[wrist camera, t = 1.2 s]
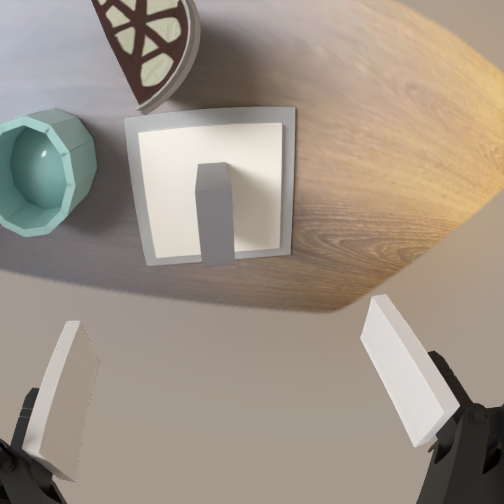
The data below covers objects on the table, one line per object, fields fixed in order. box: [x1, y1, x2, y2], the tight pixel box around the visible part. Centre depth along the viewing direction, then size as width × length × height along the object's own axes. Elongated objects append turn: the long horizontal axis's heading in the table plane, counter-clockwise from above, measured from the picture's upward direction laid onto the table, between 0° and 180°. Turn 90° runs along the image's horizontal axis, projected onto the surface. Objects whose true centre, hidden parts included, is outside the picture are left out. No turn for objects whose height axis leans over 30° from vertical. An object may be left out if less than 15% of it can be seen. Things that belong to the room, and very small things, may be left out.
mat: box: [124, 106, 295, 266], centre depth 30 cm, size 16×16×1 cm
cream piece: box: [138, 122, 282, 267], centre depth 26 cm, size 13×13×9 cm
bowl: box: [0, 108, 97, 237], centre depth 23 cm, size 11×11×6 cm
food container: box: [91, 0, 201, 115], centre depth 18 cm, size 12×6×10 cm, turn 22°
